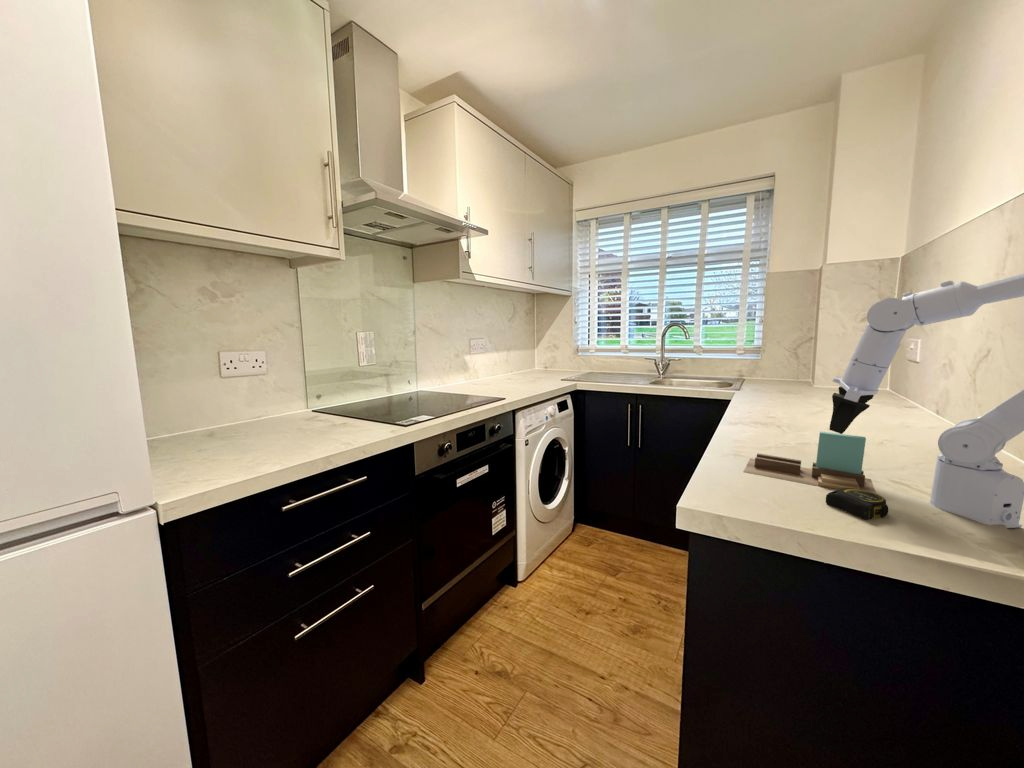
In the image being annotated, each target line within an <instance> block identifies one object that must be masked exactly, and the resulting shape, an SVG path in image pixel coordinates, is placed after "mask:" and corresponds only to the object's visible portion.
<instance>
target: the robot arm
mask: <svg viewBox="0 0 1024 768" xmlns="http://www.w3.org/2000/svg"><path fill="white" fill-rule="evenodd" d="M1023 297H1024V273H1020V274H1016V275H1012V276H1009V277H1006V278H1005V277H1003V278H1002V279H997V280H994V281H990V282H987V283H986V282H985V283H983V284H979V285H976V284H975V285H974V284H971V283H970V282H966V281H962V280H961V281H957V282H954V281H953V280H946V281H944V282H940V286H938V287H935V288H934V287H933V288H931V289H927V290H923V291H920V292H916V293H912V292H911V291H908V292H904V293H903V294H902V298H897V297H886V298H883V299H882V300H878V302H875V303H874V304H873V305H872V306H870V308H869V309H868V311H867V314H866V321H867V323H866V326H865V329H864V331H863V333H862V335H860V337H859V340H858V342H857V344H856V346H855V348H854V351H853V353H852V355H851V357H850V359H849V362H848V364H847V366H846V368H845V370H844V371H843V375H842V376H841V377H838V376H837V377H836V376H835V377H833V379H832V382H833V383H836V384H838V385H839V387H838V393H836V392H833V393H832V396H831V399H832V405H833V406H832V415H831V418H830V421H829V423H830V424H829V429H828V430H829V431H831V432H833V433H837V434H844V433H845V432H846V431H847V429H848V428H849V426H851V424H852V423H853V422H854V420H855V419H856V418H857V417H858V416H859V415H860V414H861V413H863V412H865V411H866V410H867V409H869V408H870V404H868V402H869V401H871V400H872V399H873V398H874V396H875V395H877V394H878V393H879V391H880V389H879V388H880V386H881V385H882V382H883V379H884V377H885V376H886V374H887V372H888V370H889V368H890V366H891V364H892V362H893V360H894V358H895V356H896V354H897V353H898V350H899V347H900V345H901V342H902V340H903V338H904V336H905V334H906V333H907V330H909V329H911V328H912V327H914V325H916V326H918V327H919V326H920V327H923V326H926V325H932V324H936V323H941V322H945V321H946V322H947V321H951V320H955V319H960V318H964V317H970V316H972V315H973V316H974V314H975V313H976V312H977V311H978V309H980V308H981V307H982V306H983V305H986V304H992V303H997V302H1003V301H1007V300H1012V299H1017V298H1023ZM1023 432H1024V388H1023V389H1021V390H1020V391H1018V392H1016V393H1015V394H1014V395H1012V396H1010V397H1009V398H1008V399H1006V400H1004V401H1003V402H1001V403H1000V404H998V405H996V406H995V407H993V408H992V409H990V410H989V411H987V412H985V413H984V414H982V415H981V416H978V417H976V418H971V419H967V420H963V421H961V422H958V423H957V424H955V425H954V426H953V427H949V428H948V429H946V430H944V431H942V433H941V434H940V435H939V437H938V439H937V446H938V450H939V451H940V453H938V454H937V455H936V456H937V457H936V463H935V468H934V474H933V479H932V486H931V487H932V488H931V493H930V499H929V504H930V505H932V506H933V507H935V508H937V509H939V510H941V511H945V512H948V513H951V514H955V515H957V516H962V517H964V518H967V519H969V520H973V521H976V522H978V523H980V524H984V525H986V526H998V525H1004V527H1005V528H1006V529H1013V528H1014V529H1015V528H1022V527H1023V524H1022V523H1020V519H1021V514H1022V509H1023V506H1024V505H1023V504H1024V480H1023V479H1022V478H1021V477H1020V476H1017V475H1014V474H1012V473H1009V472H1007V471H1006V470H1004V469H1003V466H1004V464H1003V463H1002V462H1001V461H1000V460H999V459H998V457H997V456H996V454H998V453H999V452H1000V451H1002V450H1003V449H1004V448H1005V446H1006V443H1007V442H1009V441H1010V440H1013V439H1014V438H1015V437H1016V436H1019V435H1020V434H1022V433H1023Z"/></svg>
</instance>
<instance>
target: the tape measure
mask: <svg viewBox="0 0 1024 768" xmlns="http://www.w3.org/2000/svg"><path fill="white" fill-rule="evenodd" d="M825 503H826V504H827V505H828V506H831V507H832V508H836V509H838V510H840V511H843V512H846V513H847V514H850V515H853V516H855V517H856V518H857V517H858V519H862V520H865V521H868V520H872V519H878V518H879V519H880V518H885V516H886V517H887V515H888V514H889V507H888V504H887V500H886V499H885V497H883V496H881V495H879V494H877V493H876V494H875V493H872V492H869V491H865V490H860V489H854V488H841V489H838V490H834V491H830V492H829V493H827V494H826V496H825Z"/></svg>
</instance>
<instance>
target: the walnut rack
mask: <svg viewBox="0 0 1024 768" xmlns="http://www.w3.org/2000/svg"><path fill="white" fill-rule="evenodd" d="M864 472H865V471H864V470H863V469H862V472H861V474H855V473H849V472H843V471H837V470H831V469H825V468H819V467H816V462H812V468H808V467H802V460H800V459H795V458H790V457H789V458H787V457H783V456H775V455H770V454H764V453H763V454H762V453H759V452H758V453H756V456H755V458H749V460H748V461H747V463H746V466H745V468H744V470H743V473H746V474H751V475H756V476H757V475H758V476H762V477H768V478H773V479H777V480H783V481H788V482H793V483H797V484H804V485H809V486H814V487H820V488H825V489H830V490H834V491H836V490H838V489H835V488H830V487H824V486H819V485H818V477H820V476H821V474H825V475H832V476H838V477H845V478H851V479H855V480H856V481H857V483H858V485H859V489H860V490H865V491H869V492H872V493H875V494H877V492H876V489H875V487H874V484H873V480H872V479H871V478H867V477H866V475H865V474H864Z"/></svg>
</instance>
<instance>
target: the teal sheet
mask: <svg viewBox="0 0 1024 768" xmlns="http://www.w3.org/2000/svg"><path fill="white" fill-rule="evenodd" d="M866 440H867V438H866V436H859V435H853V434H852V435H851V434H844V433H842V434H840V433H837V432H830V431H829V432H828V431H827V432H826V431H821V430H820V431H819V436H818V444H817V452H816V453H817V454H816V460H815V461H816V462H815V463H816V467H819V468H825V469H831V470H837V471H843V472H849V473H855V474H861V472H862V470H863V465H864V463H863V462H864V456H865V447H866Z"/></svg>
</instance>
